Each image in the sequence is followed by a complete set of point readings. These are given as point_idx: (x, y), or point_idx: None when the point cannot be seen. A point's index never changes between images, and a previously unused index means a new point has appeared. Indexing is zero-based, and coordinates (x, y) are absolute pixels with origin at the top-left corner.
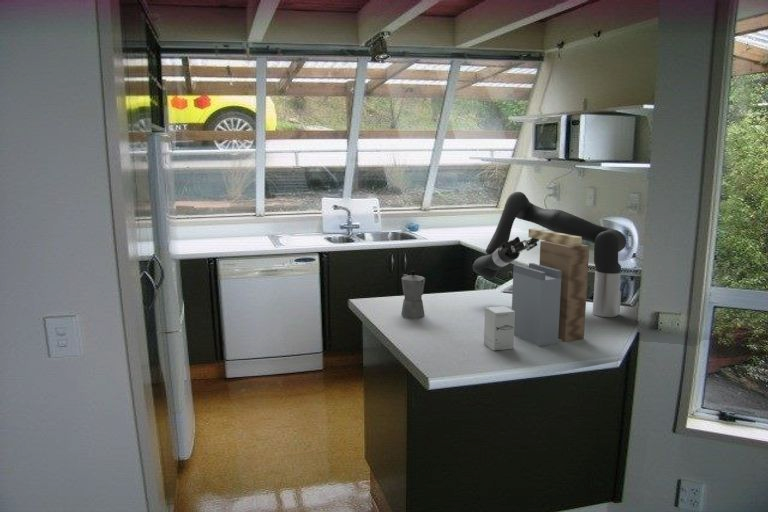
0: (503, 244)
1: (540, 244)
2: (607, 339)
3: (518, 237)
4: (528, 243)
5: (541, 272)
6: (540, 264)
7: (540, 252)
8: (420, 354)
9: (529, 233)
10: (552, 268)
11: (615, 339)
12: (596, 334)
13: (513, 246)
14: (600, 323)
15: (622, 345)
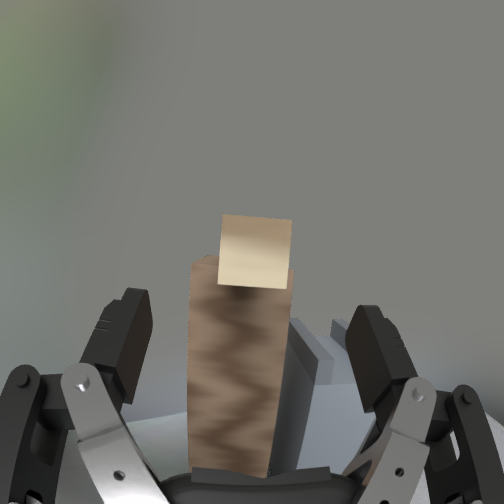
0: (477, 438)
1: (292, 285)
2: (162, 435)
3: (362, 307)
4: (18, 482)
5: (341, 320)
6: (282, 364)
7: (288, 318)
8: (493, 432)
9: (287, 255)
10: (295, 326)
11: (150, 429)
12: (152, 453)
13: (376, 423)
14: (69, 471)
15: (169, 416)
